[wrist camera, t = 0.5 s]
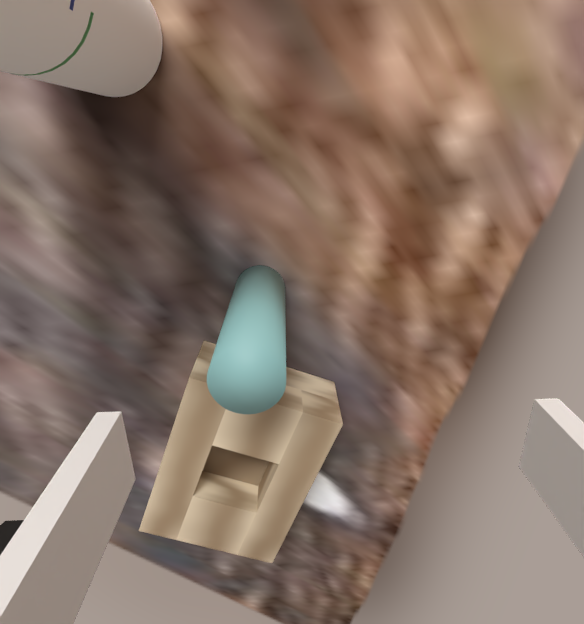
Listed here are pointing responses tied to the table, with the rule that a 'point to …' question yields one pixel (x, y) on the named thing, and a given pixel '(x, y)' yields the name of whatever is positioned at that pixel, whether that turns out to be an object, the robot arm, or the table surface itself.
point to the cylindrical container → (82, 43)
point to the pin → (251, 345)
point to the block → (241, 465)
